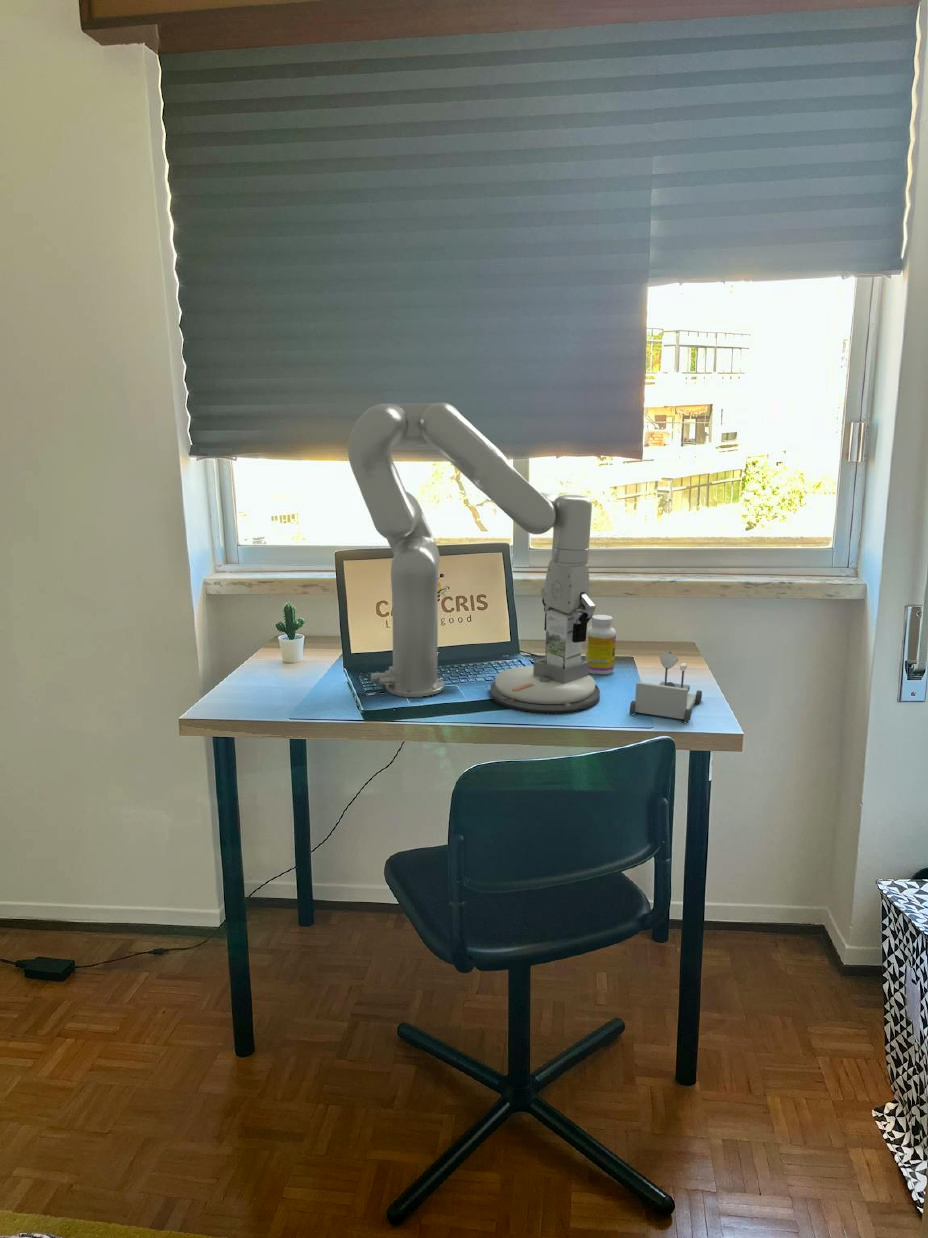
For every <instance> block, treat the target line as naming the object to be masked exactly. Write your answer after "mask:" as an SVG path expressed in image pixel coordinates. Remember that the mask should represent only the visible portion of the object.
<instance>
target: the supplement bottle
mask: <svg viewBox="0 0 928 1238" xmlns="http://www.w3.org/2000/svg"><path fill="white" fill-rule="evenodd" d="M591 624H592V625H591V626H589V627H587V633H586V641H585V642H586V643H585V645H586V646H585V660H584V661H587V662H589V674H593V675H600V676H602V675H611V674H612V673H613V672H614V671H615V660H616V639H617V638H616V637H617V632H616V629H615V628H613V627H612V624H613V617H612V616H611V615H607V614H594V615H593V616H592V618H591Z"/></svg>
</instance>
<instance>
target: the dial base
mask: <svg viewBox="0 0 928 1238" xmlns="http://www.w3.org/2000/svg"><path fill="white" fill-rule="evenodd" d="M489 687H490V688H489V690H490V693H489V695H490V694H491V696H490V698H491V697H492V698H493V699H494V700H493V699H492V698H491V699H492V700H493V701H494V702H495V703H496V704H498V705H500V706H503V707H504V708H507V709H510V710H513V711H517V712H522V713H527V714H528V713H529V714H537V715H566V714H575V713H579V712H584V711H586V710H589V709H592V708H593V707H595V706H596V705H598V703H599V702H600V696H601V691H600V687H598V686H597V685H596V684H595V693H594V694H593V695H592V696H591V697H589V698H587V699H584V700H581V701H578V702H572V703H564V704H537V703H529V702H523V701H519V700H515V699H511V698H509V697H506V696H504V695H502V694H501V693H499V692H498V691H497V690H496V688H495V680H494V681H493V682H492V683H491V684H490V686H489Z"/></svg>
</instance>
